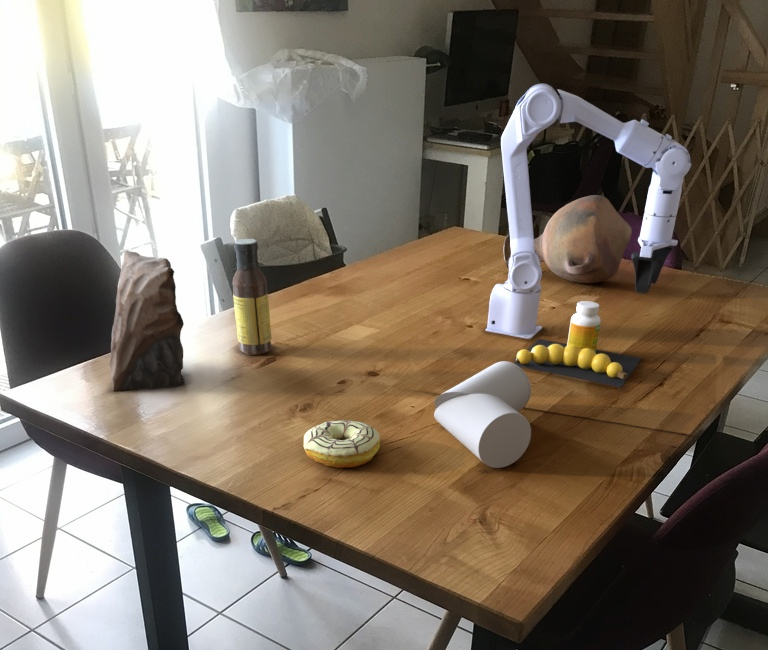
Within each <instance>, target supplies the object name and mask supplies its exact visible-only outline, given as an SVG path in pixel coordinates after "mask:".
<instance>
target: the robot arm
mask: <svg viewBox="0 0 768 650" xmlns="http://www.w3.org/2000/svg"><path fill="white" fill-rule="evenodd" d="M557 92H558V93H557ZM557 120H558V122H559V124H566V123H575V122H576V123H578V124H580V125H582V126H584V127H586V128H588V129H590V130H592V131H594V132H596V133H598V134H600V135H602V136H604V137H606V138H608V139H610V140H612V141H613V142H614V147H615V152H617V153H618V154H620V155H622V156H624V157H626V158H628V159H629V160H631V161H633V162H635V163H637V164H638V165H640V166H642V167H644V168H646V169H650V168H652V170H653V171H652V174H651V181H650V184H649V187H648V191H647V195H646V196H647V198H646V202H645V207H644V213H643V218H642V222H641V223H642V224H641V227H640V233H639V236H638V239H637V242H638V244H639V246H640V247H641V248H640V252H636V251H633V252H632V253H631V256H630V257H631V261H632V264H633V269H634V281H635V282H634V285H635V286H634V287H635V292H636V293H639V294H645V295H647V294H648V292H649V290H650V288H651V286H652V285H653V284H654V285H655V284H656V283H657V281H658V279H659V277H660V275H661V272H662V269H663V266H664V264H665V263H666V260H667V259H668V257H669V255H670V253H671V252H672V251H673V249H674V247H676V246H678V242H679V241H678V240H677V239H673V234H674V229H675V224H676V219H677V215H678V210H679V206H680V200H681V195H682V192H683V191H682V190H683V188H682V187H683V183H684V178H685V176H686V175H687V174H688V172H689V171H690V169H691V166H692V163H691V155H690V153H689V150H688V149H687V148H686V147H685V146H684V145H682V144H680V143H679V142H678V141H677V140H675V139H672V138H673V137H672V135H670V134H668V133H666V134H665V135H664V134H662V133H660V132H658V131H656V130H655V129H653V128H652V127H649V125H650V123H649V122H648V121H647V120H645V119H643V118H642V119H641V120H640V121H638V120H636V119H632V120H630V121H626V122H622V121H621V120H619V119H617V118H616V117H614V116H612V115H611V114H609V113H607V112H605V111H603V110H602V109H600V108H599V107H597V106H595V105H594V104H592V103H590V102H588V101H587V100H584V99H583V98H582V97H580V96H578V95H575V94H573V93H570V92H567V91H565V90H563V89H558V88H557V91H556V90H555V88H553V86H552V85H549V84H547V83H537V84H534V85H532V86H531V87H530V88H529V89H527V91H526V92H525V93H524V94H523V95H522V96H521V97H520V98H519V100H517V103H516V105H515V108H514V110H513V112H512V114H511V115H510V118H509V120H508V121H507V125H506V126H505V128H504V131H503V132H502V135H501V137H500V147H501V157H502V158H501V159H502V169H503V177H504V178H503V180H504V189H505V199H506V200H505V201H506V209H507V210H506V211H507V221H508V230H509V234H510V242H511V256H510V259H509V264H508V265H509V269H508V277H507V280H506V281H504V283H496V284H495V285H494V286H493V288H492V290H491V293H490V298H489V305H488V315H487V325H486V328H485V331H486V332H489V333H495V334H501V335H506V336H510V337H511V336H512V337H515V338H516V337H517V338H521V339H525V340H526V339H527V340H531V339H532V338H534V336H535V335H537V334H538V333H539V332H540V331H541V330H542V329H543V326H542V325H537V324H538V315H539V307H540V301H541V292H542V285H541V284H540V283H541V281H542V278H543V271H542V267H541V263H542V262H541V261H540V257H539V255H538V253H537V252H536V250H535V246H534V239H535V236H534V224H533V213H532V202H531V187H530V177H529V165H528V153H527V152H528V151H527V148H528V147H529V146H530V145H531V143H533V141H534V140H535V139H536V137H537V136H538V134H539V133H541V132H542V131H544V130H546V129H548V128H549V127H551V126H552V125H553V124H554V123H555V122H556V121H557Z"/></svg>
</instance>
